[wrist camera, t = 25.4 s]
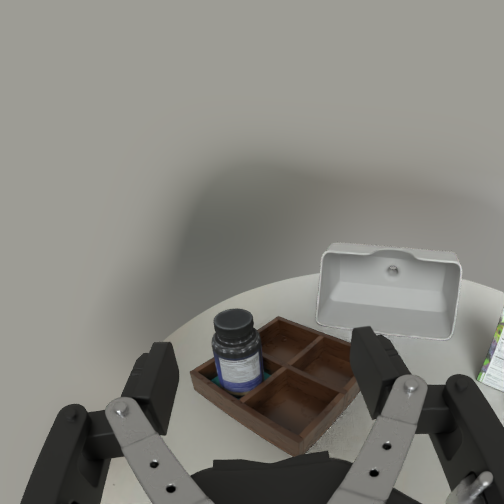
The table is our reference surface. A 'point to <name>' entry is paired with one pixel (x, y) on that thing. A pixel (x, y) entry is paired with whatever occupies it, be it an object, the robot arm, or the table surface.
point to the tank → (389, 290)
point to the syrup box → (495, 360)
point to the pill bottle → (237, 352)
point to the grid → (289, 386)
